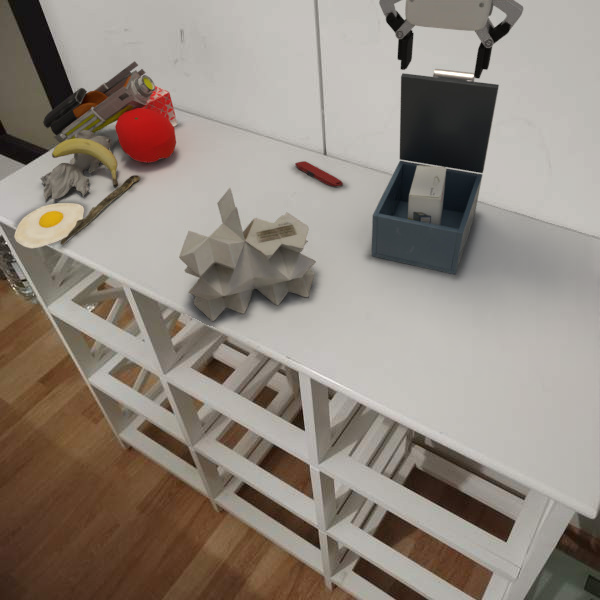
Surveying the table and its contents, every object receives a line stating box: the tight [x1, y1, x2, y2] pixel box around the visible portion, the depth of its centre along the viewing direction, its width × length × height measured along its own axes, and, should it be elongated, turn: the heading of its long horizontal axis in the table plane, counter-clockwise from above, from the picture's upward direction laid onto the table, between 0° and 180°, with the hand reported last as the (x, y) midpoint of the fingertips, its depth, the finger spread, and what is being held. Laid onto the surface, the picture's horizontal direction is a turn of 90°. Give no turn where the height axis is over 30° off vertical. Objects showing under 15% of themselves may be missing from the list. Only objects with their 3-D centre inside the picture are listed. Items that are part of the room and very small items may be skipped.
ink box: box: [408, 164, 447, 225], centre depth 93 cm, size 9×5×12 cm, turn 164°
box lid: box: [399, 68, 500, 174], centre depth 91 cm, size 16×14×5 cm
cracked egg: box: [13, 202, 85, 249], centre depth 108 cm, size 13×12×1 cm
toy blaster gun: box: [42, 60, 156, 144], centre depth 121 cm, size 9×26×10 cm
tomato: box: [114, 108, 177, 164], centre depth 118 cm, size 11×13×10 cm
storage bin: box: [371, 160, 483, 275], centre depth 96 cm, size 16×14×9 cm
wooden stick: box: [60, 174, 141, 246], centre depth 109 cm, size 2×23×2 cm, turn 153°
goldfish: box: [39, 130, 113, 201], centre depth 118 cm, size 20×10×9 cm
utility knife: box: [294, 160, 344, 187], centre depth 112 cm, size 12×1×2 cm
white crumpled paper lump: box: [178, 187, 317, 322], centre depth 91 cm, size 23×19×15 cm
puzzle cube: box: [142, 85, 179, 128], centre depth 127 cm, size 8×8×8 cm
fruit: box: [51, 138, 119, 187], centre depth 114 cm, size 7×13×3 cm
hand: (441, 69), depth 76 cm, fingers open, 9 cm apart
